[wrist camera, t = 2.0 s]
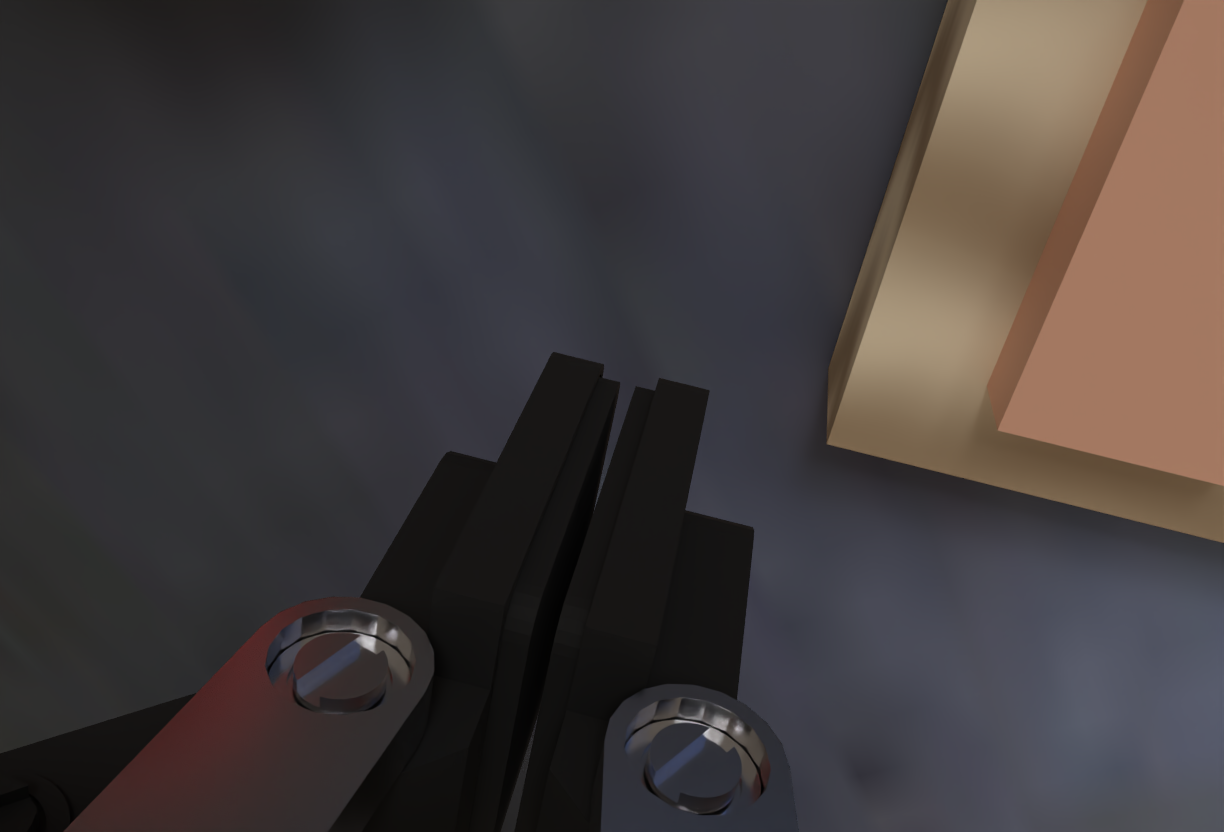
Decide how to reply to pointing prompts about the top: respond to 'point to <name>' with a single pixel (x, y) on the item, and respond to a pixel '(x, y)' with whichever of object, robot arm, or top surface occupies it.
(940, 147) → the deck
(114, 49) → the top surface
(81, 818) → the robot arm
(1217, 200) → the salmon brown flat block
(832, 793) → the top surface
